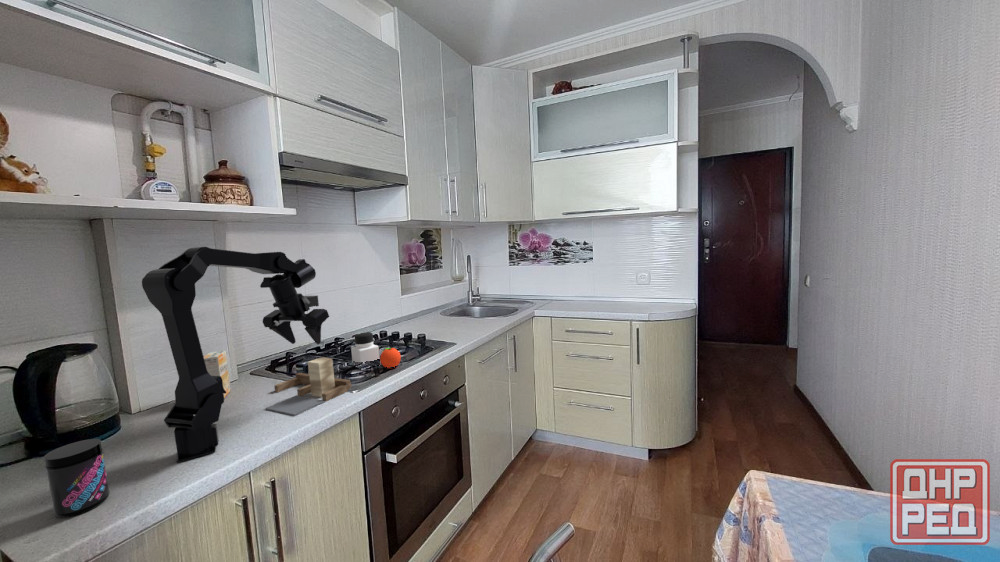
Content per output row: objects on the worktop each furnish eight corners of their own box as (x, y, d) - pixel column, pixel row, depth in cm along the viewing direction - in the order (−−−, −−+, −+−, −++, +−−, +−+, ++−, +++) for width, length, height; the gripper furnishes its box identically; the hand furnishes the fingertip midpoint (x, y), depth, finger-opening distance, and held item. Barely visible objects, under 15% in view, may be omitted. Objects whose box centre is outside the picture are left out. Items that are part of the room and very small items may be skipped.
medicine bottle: (380, 365, 138) (377, 332, 137) (361, 370, 134) (357, 336, 132) (371, 361, 144) (368, 329, 142) (352, 366, 139) (349, 333, 138)
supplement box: (224, 400, 114) (218, 356, 113) (204, 403, 112) (198, 359, 111) (231, 390, 122) (226, 349, 120) (213, 393, 120) (207, 352, 119)
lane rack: (326, 401, 108) (325, 390, 108) (275, 391, 118) (273, 382, 118) (351, 389, 116) (350, 379, 116) (301, 381, 126) (300, 372, 126)
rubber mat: (295, 415, 100) (294, 414, 100) (265, 409, 105) (265, 407, 105) (324, 402, 108) (324, 400, 108) (296, 396, 113) (296, 395, 113)
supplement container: (50, 525, 63) (38, 464, 62) (58, 506, 68) (47, 449, 67) (108, 505, 67) (99, 448, 66) (112, 488, 72) (103, 434, 71)
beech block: (322, 397, 111) (318, 363, 110) (311, 395, 113) (307, 362, 112) (335, 391, 115) (332, 358, 114) (324, 389, 117) (321, 357, 116)
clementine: (375, 368, 135) (373, 348, 134) (392, 363, 140) (390, 343, 140) (388, 372, 130) (386, 351, 129) (405, 366, 135) (404, 346, 134)
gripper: (332, 281, 111) (349, 328, 117) (281, 284, 117) (301, 328, 123) (304, 300, 102) (325, 350, 108) (251, 301, 108) (273, 348, 114)
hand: (306, 343), depth 113 cm, fingers open, 9 cm apart
